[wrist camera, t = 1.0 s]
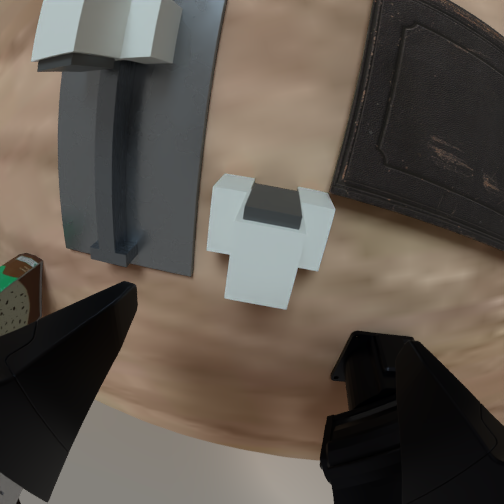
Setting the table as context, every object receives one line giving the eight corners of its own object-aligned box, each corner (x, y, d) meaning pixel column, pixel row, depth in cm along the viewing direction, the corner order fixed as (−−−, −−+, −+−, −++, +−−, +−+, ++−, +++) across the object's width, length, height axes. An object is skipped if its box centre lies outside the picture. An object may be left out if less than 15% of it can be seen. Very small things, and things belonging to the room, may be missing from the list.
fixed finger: (171, 72, 15) (105, 58, 9) (86, 76, 15) (9, 78, 9) (182, 8, 13) (126, -34, 7) (95, 19, 13) (23, 2, 7)
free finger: (313, 246, 20) (324, 315, 14) (218, 228, 21) (186, 290, 14) (329, 184, 18) (354, 230, 12) (225, 164, 18) (191, 199, 12)
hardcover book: (530, 257, 19) (542, 268, 17) (325, 183, 19) (330, 193, 17) (570, 112, 11) (585, 116, 9) (370, -24, 11) (379, -37, 9)
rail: (192, 272, 23) (182, 291, 20) (69, 244, 23) (53, 258, 21) (232, -25, 12) (224, -41, 10) (82, -6, 12) (62, -12, 10)
